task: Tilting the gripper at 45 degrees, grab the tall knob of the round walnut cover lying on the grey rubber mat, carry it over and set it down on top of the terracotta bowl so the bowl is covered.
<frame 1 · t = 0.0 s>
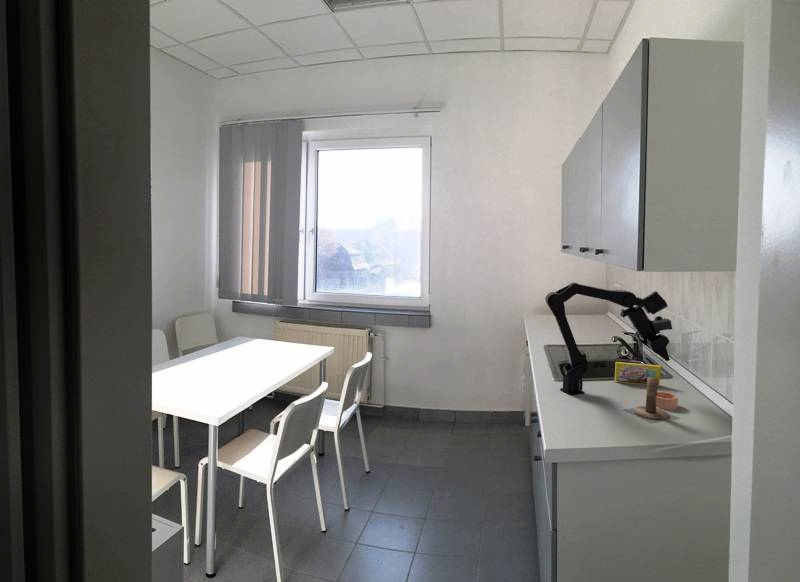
hand: (663, 357, 168), 15 cm above the countertop, tool tilted 35°, fingers open, 9 cm apart
walnut cover: (650, 414, 152), resting on grey rubber mat
grey rubber mat: (650, 415, 152), on the countertop
candy box: (636, 384, 185), on the countertop
terracotta bowl: (663, 406, 160), on the countertop
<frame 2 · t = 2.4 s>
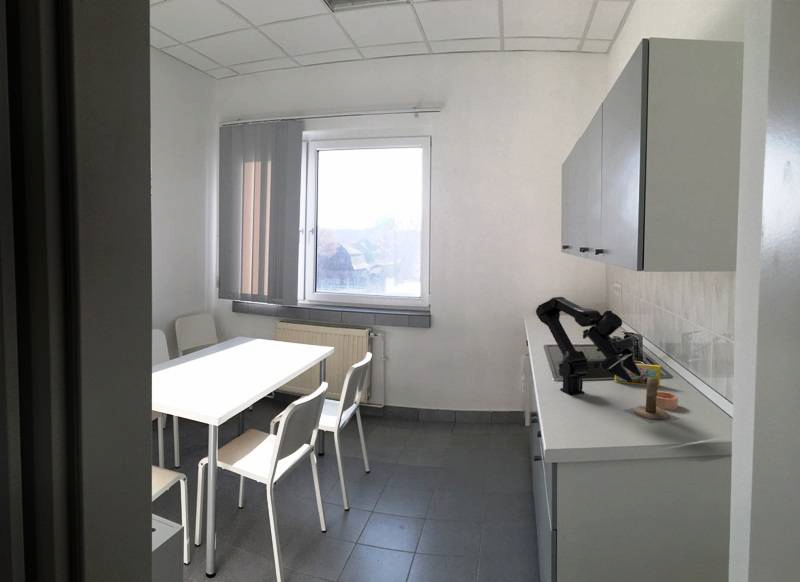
hand: (635, 378, 154), 12 cm above the countertop, tool tilted 45°, fingers open, 9 cm apart
nothing on the countertop moved.
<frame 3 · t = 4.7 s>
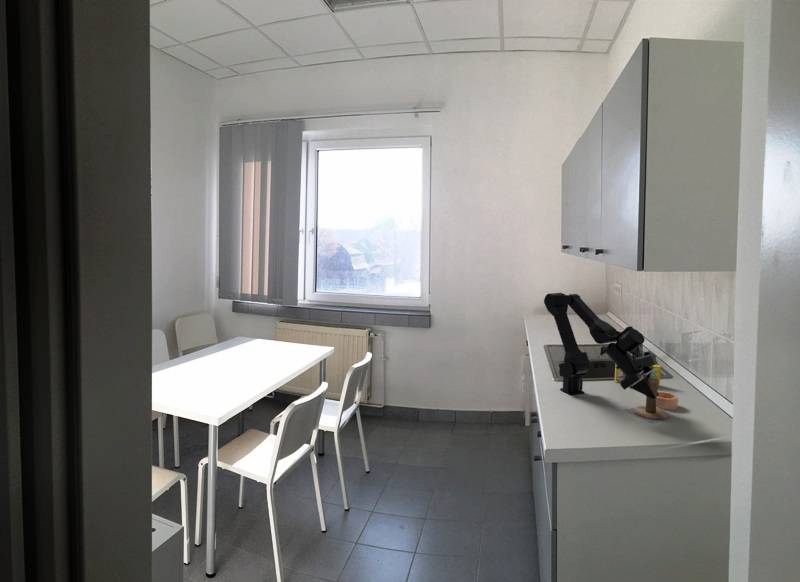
hand: (656, 397, 151), 7 cm above the countertop, tool tilted 45°, fingers closed on walnut cover, 3 cm apart
walnut cover: (650, 414, 152), point 1 cm above the countertop, touching grey rubber mat, gripper
everything else where it was.
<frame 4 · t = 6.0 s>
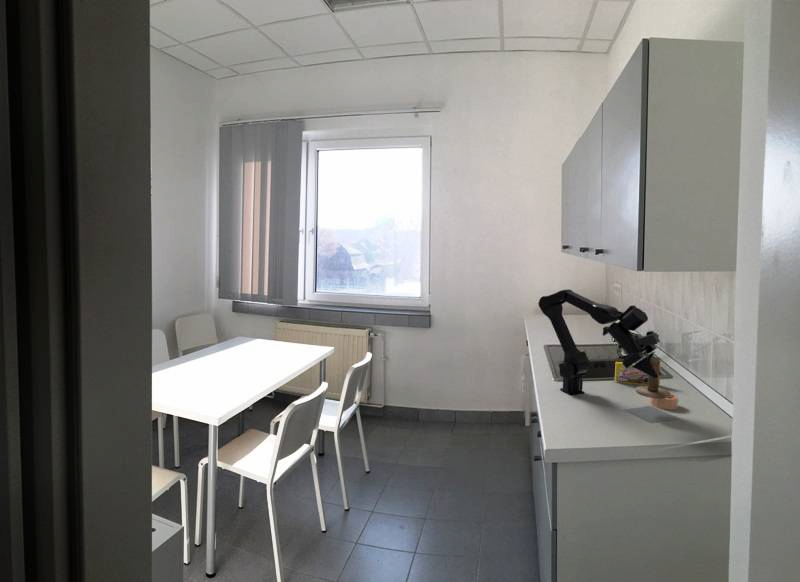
hand: (658, 376, 151), 13 cm above the countertop, tool tilted 45°, fingers closed on walnut cover, 3 cm apart
walnut cover: (652, 393, 152), point 7 cm above the countertop, touching gripper
everything else where it was.
when the fingers open (11 cm above the countertop, at t = 7.7 s): walnut cover stays where it is, resting on terracotta bowl.
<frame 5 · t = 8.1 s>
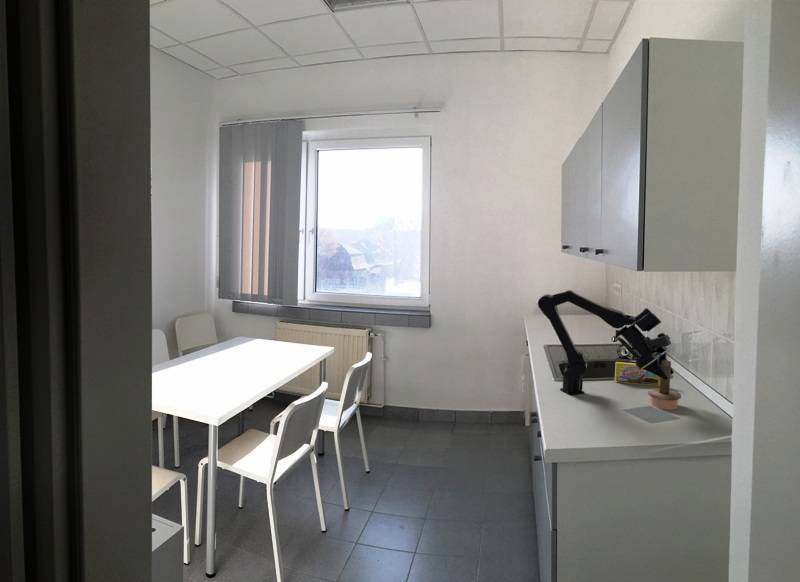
hand: (670, 376, 158), 11 cm above the countertop, tool tilted 45°, fingers open, 8 cm apart
walnut cover: (664, 395, 160), point 4 cm above the countertop, touching terracotta bowl
everything else where it was.
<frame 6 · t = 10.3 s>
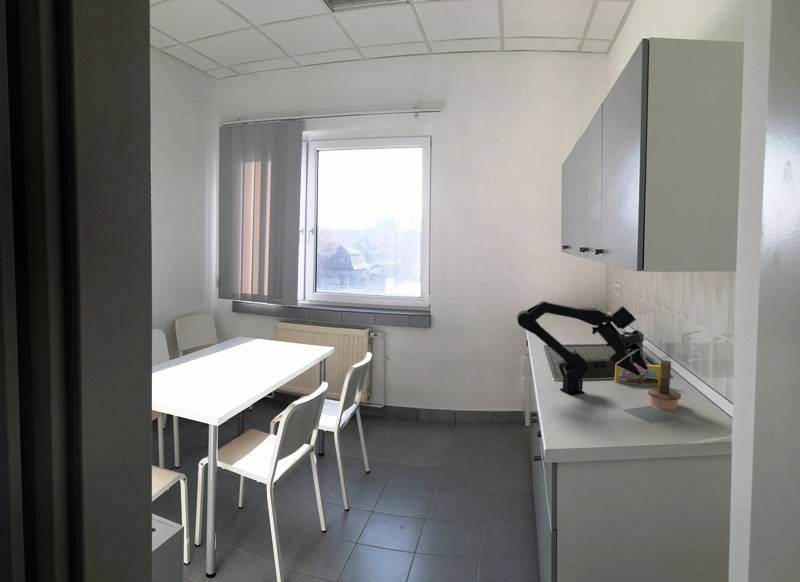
hand: (643, 371, 164), 11 cm above the countertop, tool tilted 45°, fingers open, 9 cm apart
nothing on the countertop moved.
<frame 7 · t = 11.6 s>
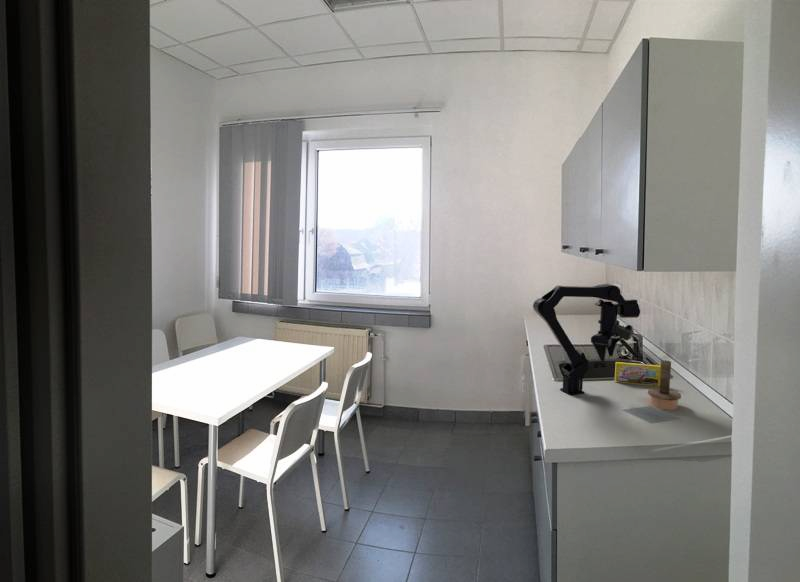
hand: (606, 358, 174), 13 cm above the countertop, tool pointing down, fingers open, 9 cm apart
nothing on the countertop moved.
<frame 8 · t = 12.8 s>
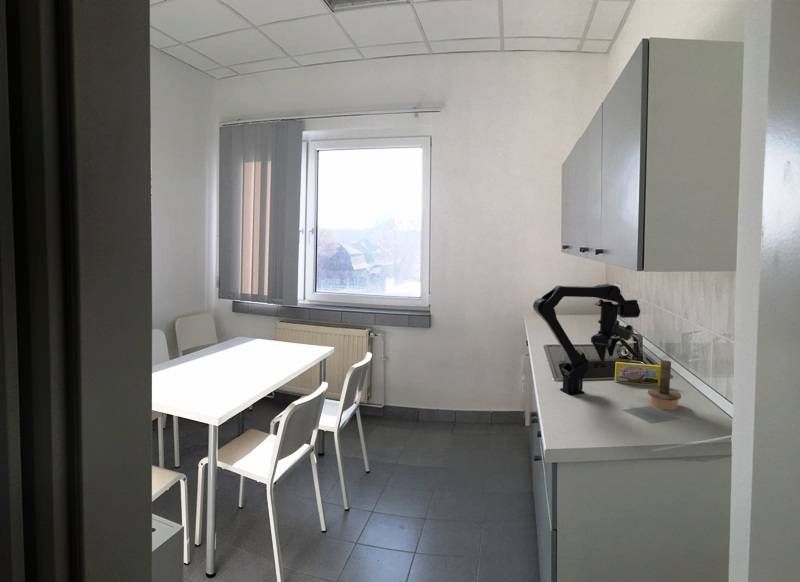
hand: (606, 358, 174), 13 cm above the countertop, tool pointing down, fingers open, 9 cm apart
nothing on the countertop moved.
at the end: walnut cover 0.1 cm from the terracotta bowl (horizontally); walnut cover point 4.0 cm above the countertop; walnut cover tilted 0° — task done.
